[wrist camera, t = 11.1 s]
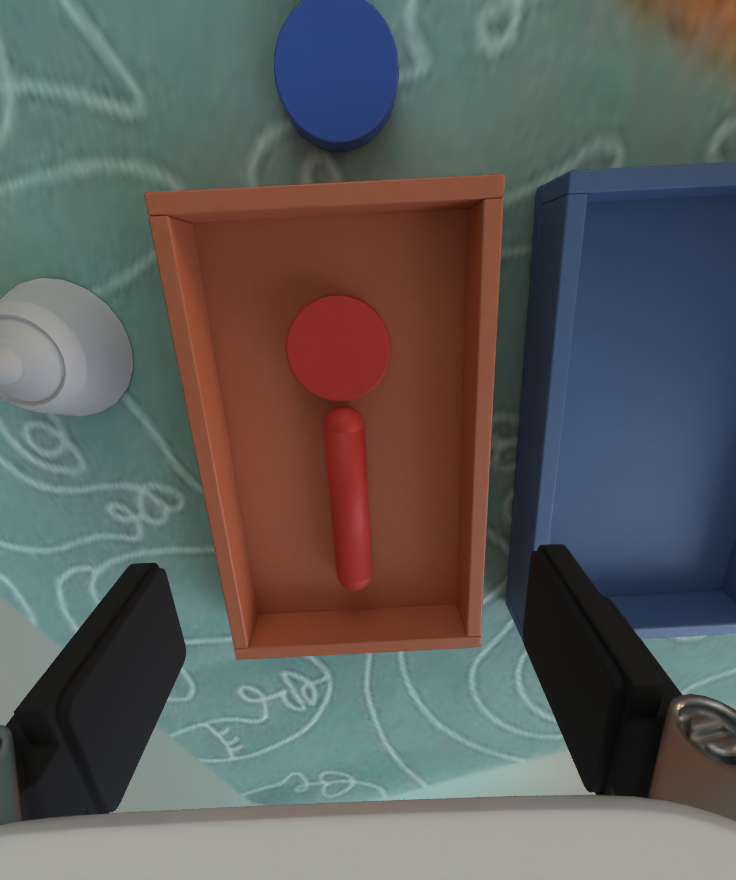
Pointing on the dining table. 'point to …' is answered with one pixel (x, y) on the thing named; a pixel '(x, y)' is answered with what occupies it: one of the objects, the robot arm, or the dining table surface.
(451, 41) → the dining table surface
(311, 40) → the blue spoon
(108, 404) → the chalice
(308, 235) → the terracotta tray
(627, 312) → the blue tray
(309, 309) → the red spoon
